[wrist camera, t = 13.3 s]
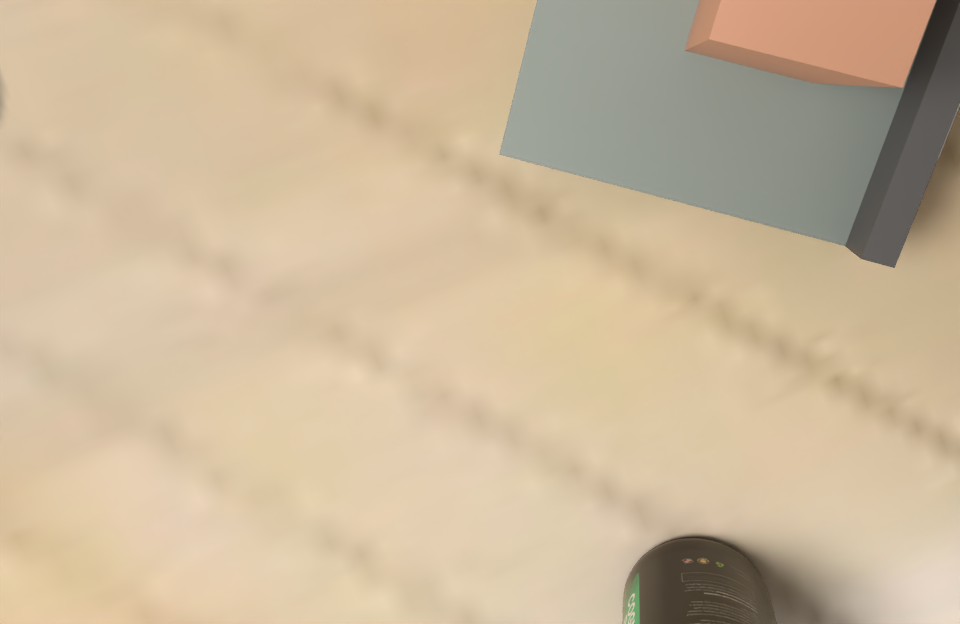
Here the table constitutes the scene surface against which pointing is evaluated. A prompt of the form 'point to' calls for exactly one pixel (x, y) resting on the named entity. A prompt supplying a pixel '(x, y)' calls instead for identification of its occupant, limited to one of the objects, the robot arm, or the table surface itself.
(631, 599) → the supplement bottle
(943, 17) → the display shelf
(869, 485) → the table surface
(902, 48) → the tea box
